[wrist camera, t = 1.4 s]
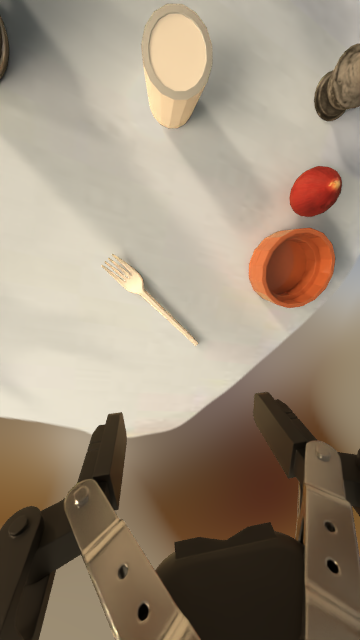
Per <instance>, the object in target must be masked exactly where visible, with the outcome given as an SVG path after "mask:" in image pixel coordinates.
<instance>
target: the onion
mask: <svg viewBox="0 0 360 640" xmlns="http://www.w3.org/2000/svg"><path fill="white" fill-rule="evenodd" d="M341 187H342V181H341V177H340V175H339V174H338V172H337V171H336V170H334V169H332V168H330V167H323V166H317V167H314V168H312V169H310V170H307V171H306V172H304V173H303V174H302V175H301V176H300V177H299V178H298V179H297V180H296V181H295V183H294V185H293V187H292V189H291V193H290V205H291V207H292V209H293V211H294V212H295V213H297V214H299V215H300V216H306V217H312V216H315V215H318V214H321V213H324V212H325V211H326V210H328V209H329V208H330V207H331V206H332V205H333V204H334V203H335V202H336V200H337V198H338V197H339V195H340V193H341Z"/></svg>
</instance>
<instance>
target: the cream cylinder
mask: <svg viewBox="0 0 360 640" xmlns="http://www.w3.org/2000/svg"><path fill="white" fill-rule="evenodd" d="M141 46H142V56H143V65H144V72H145V79H146V85H147V92H148V98H149V105H150V109H151V111H152V113H153V116H154V118H155V119H156V120H157V121H158V122H159V123H160V124H161V125H163V126H165V127H167V128H179V127H180V126H182V125H184V124H185V123H186V122H187V120H188V119H189V118H190V116H191V114H192V112H193V110H194V108H195V106H196V104H197V102H198V100H199V98H200V96H201V93H202V91H203V89H204V87H205V85H206V83H207V81H208V78H209V74H210V71H211V67H212V43H211V40H210V37H209V34H208V31H207V28H206V26H205V24H204V23H203V22H202V20H201V19H200V18H199V16H198V15H197V13H196V12H194V11H193V10H191V9H189V8H188V7H186V6H184V5H183V4H166V5H164V6H163V7H161V8H159V9H158V10H156V11H154V13H153V14H152V16H151V17H150V19H149V21H148V22H147V24H146V25H145V29H144V34H143V39H142V44H141Z"/></svg>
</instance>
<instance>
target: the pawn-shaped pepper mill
mask: <svg viewBox="0 0 360 640" xmlns="http://www.w3.org/2000/svg"><path fill="white" fill-rule="evenodd" d="M314 103H315V109H316V111H317V113H318V115H319V116H320V117H321V118H322V119H323V120H326V121H333V120H335V119H337V118H339V117H340V116H341V115H342V114H343V113H344V112H345V111H346V109H350V108H356V107H359V106H360V44H356V45H353V46H351V47H350V48H349V49H347V50H346V51H345V52H344V54H343V55H342V56H341V57H340V59H339V61H338V63H337V65H336V67H335V69H334V70H333V71H331V72H328V73H327V74H326V75H325V76H324V77H323V78H322V79H321V81H320V82H319V84H318V86H317V88H316V92H315V99H314Z"/></svg>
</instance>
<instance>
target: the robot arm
mask: <svg viewBox="0 0 360 640" xmlns="http://www.w3.org/2000/svg"><path fill="white" fill-rule="evenodd" d="M8 58H9V43H8V37H7V33H6V29H5V26H4V23H3V21H2V18H1V16H0V79H1V78H2V76H3V74H4V73H5V70H6V68H7V64H8ZM253 416H254V420H255V423H256V425H257V427H258V428H259V430H260V432H261V433H262V435H263V437H264V438H265V440H266V442H267V443H268V445H269V447H270V449H271V450H272V452H273V454H274V455H275V457H276V458H277V460H278V462H279V464H280V465H281V467H282V469H283V470H284V472H285V474H286V475H287V477H288V478H293V477H296V478H297V479H298V481H299V490H298V513H297V528H296V537H295V539H294V538H292V537H290V536H288V535H285V534H283V533H279V532H275V531H274V530H273V527H272V525H271V523H270V522H269V523H264V524H259V525H254V526H250V527H247V528H245V529H243V530H242V531H240V532H239V533H237V534H236V535H234V536H232V537H231V538H229V539H228V540H217V539H209V538H201V537H197V538H192V539H188V540H183V541H178V542H175V552H174V553H172V554H171V555H169V556H168V557H167V558H166V559H165V560H164V561H163V562H162V563H161V564H160V565H159V566H158V567H157V569H156V570H154V568H153V566H152V565H151V563H150V562H149V560H148V558H147V557H146V555H145V553H144V552H143V550H142V549H141V547H140V545H139V544H138V542H137V541H136V539H135V538H134V536H133V534H132V533H131V531H130V529H129V528H128V526H127V525H126V523H125V522H124V520H123V519H121V520H120V519H119V517H118V516H117V514H116V513H115V511H114V510H118V508H119V499H120V492H121V484H122V476H123V468H124V459H125V451H126V442H127V437H126V429H125V424H124V419H123V414H122V412H120V413H113V414H108V417H107V420H106V424H105V425H99V426H98V427H97V429H96V430H95V431H94V433H93V434H92V437H91V441H90V444H89V447H88V452H87V454H86V457H85V460H84V463H83V466H82V470H81V473H80V476H79V479H78V482H77V484H76V485H75V486H74V487H73V488H72V489H71V490H70V491H69V492H68V494H67V496H66V498H64V499H63V500H62V501H60V502H58V503H56V504H54V505H52V506H50V507H48V508H46V509H44V510H42V511H40V510H39V509H38V508H37V507H34V506H30V507H26V508H23V509H21V510H19V511H18V512H16V513H15V514H14V515H13V516H12V517H10V518H9V519H8V520H7V521H6V523H5V524H4V525H3V527H2V528H1V530H0V640H39V636H40V632H41V628H42V624H43V620H44V616H45V612H46V608H47V604H48V600H49V596H50V592H51V588H52V584H53V580H54V576H55V572H56V569H58V568H60V567H61V566H63V565H64V564H66V563H68V562H69V561H71V560H73V559H74V558H76V557H77V556H79V555H81V556H82V558H83V561H84V563H85V565H86V568H87V570H88V573H89V575H90V578H91V580H92V583H93V585H94V588H95V590H96V592H97V595H98V597H99V600H100V603H101V605H102V608H103V610H104V613H105V616H106V618H107V620H108V623H109V626H110V628H111V630H112V633H113V635H114V638H115V640H360V557H359V551H358V544H357V537H356V531H355V524H354V518H353V511H352V506H353V507H354V509H355V510H356V512H357V513H358V514H359V516H360V449H359V451H358V454H357V455H354V454H347V453H340V452H337V451H336V450H335V449H334V448H332V447H331V446H330V445H328V444H326V443H324V442H321V441H317V439H316V438H315V437H314V436H313V435H312V434H311V433H310V431H309V430H308V429H307V428H306V427H305V426H304V424H303V423H302V422H301V421H300V420H299V419H298V418H297V416H296V415H295V414H294V413H293V412H292V410H291V409H290V408H289V407H288V406H287V405H286V404H285V403H283V402H281V401H280V400H278V399H277V400H274V398H273V397H272V396H271V395H270V394H269V393H268V392H263V393H256V394H255V395H254V409H253Z"/></svg>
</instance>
